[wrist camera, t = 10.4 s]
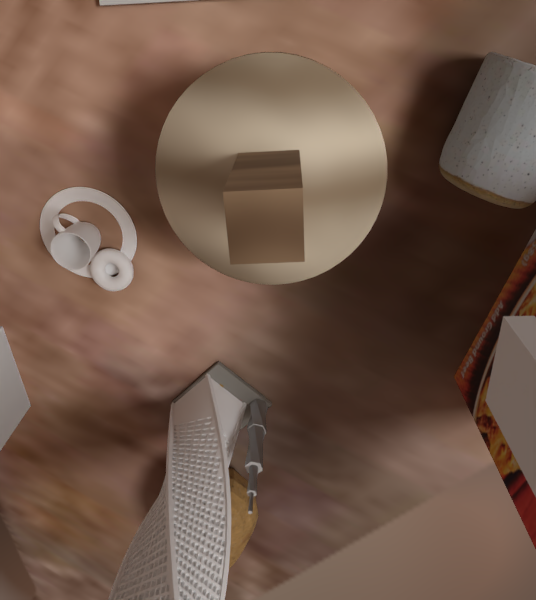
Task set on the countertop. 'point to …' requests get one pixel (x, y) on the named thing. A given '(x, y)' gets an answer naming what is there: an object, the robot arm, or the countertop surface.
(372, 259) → the countertop surface
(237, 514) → the potato
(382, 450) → the countertop surface
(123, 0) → the mat
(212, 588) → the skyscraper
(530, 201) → the ceramic mug
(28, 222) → the countertop surface
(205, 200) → the lid
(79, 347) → the countertop surface
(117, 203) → the cup and donut ornament
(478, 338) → the pasta box
